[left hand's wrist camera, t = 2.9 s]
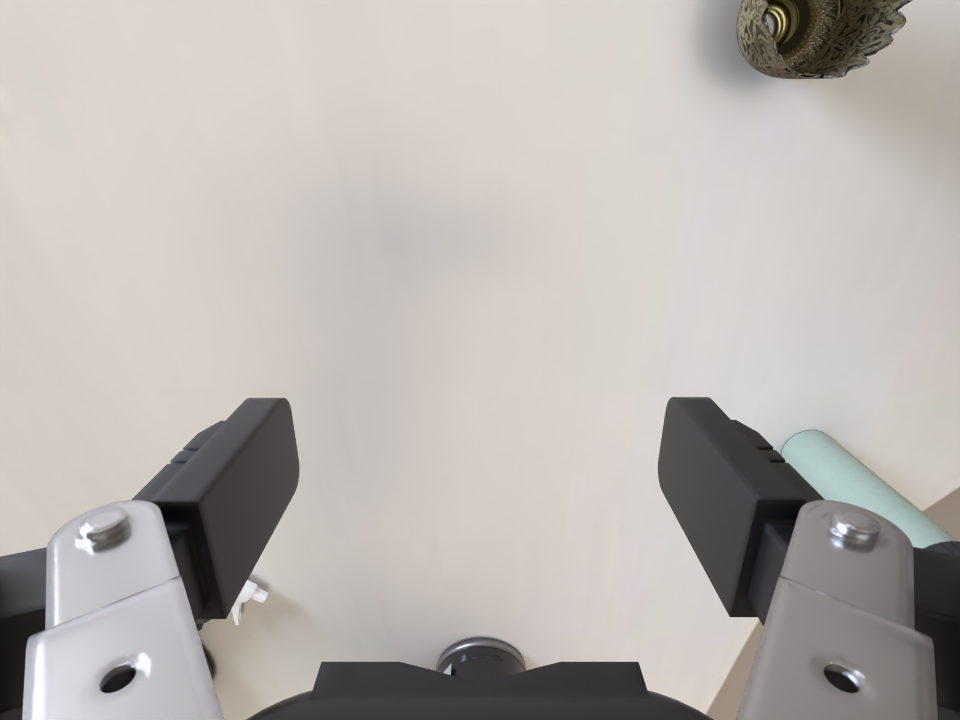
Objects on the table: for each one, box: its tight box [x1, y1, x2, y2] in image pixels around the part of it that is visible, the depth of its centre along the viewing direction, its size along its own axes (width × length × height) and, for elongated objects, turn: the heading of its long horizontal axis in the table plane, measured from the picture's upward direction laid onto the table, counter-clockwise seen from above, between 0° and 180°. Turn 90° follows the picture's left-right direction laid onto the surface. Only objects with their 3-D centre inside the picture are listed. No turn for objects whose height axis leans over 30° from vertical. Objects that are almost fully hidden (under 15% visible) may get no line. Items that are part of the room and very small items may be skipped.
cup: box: [737, 0, 912, 79], centre depth 30 cm, size 8×7×8 cm
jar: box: [781, 430, 959, 549], centre depth 38 cm, size 4×4×15 cm
